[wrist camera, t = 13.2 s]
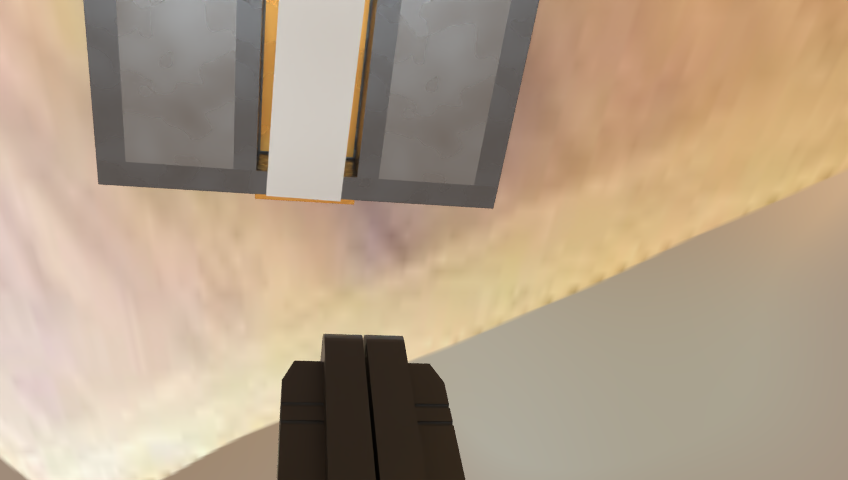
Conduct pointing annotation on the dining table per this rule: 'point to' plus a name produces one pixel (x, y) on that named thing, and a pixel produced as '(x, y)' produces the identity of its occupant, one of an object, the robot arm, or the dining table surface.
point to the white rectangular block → (313, 97)
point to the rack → (253, 91)
